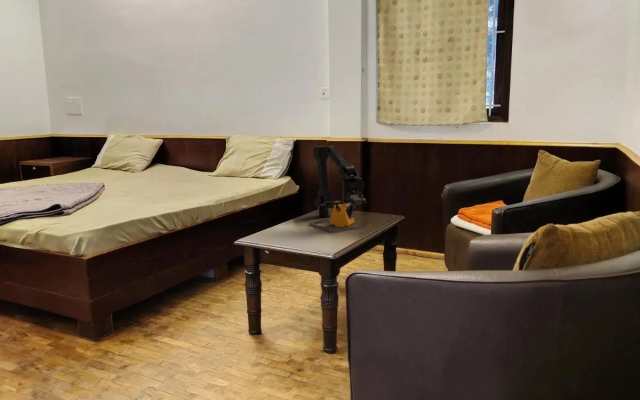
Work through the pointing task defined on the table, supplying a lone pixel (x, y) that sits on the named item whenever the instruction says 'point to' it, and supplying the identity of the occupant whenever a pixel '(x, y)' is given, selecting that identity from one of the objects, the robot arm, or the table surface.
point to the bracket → (341, 216)
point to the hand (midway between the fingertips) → (349, 218)
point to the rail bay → (329, 229)
